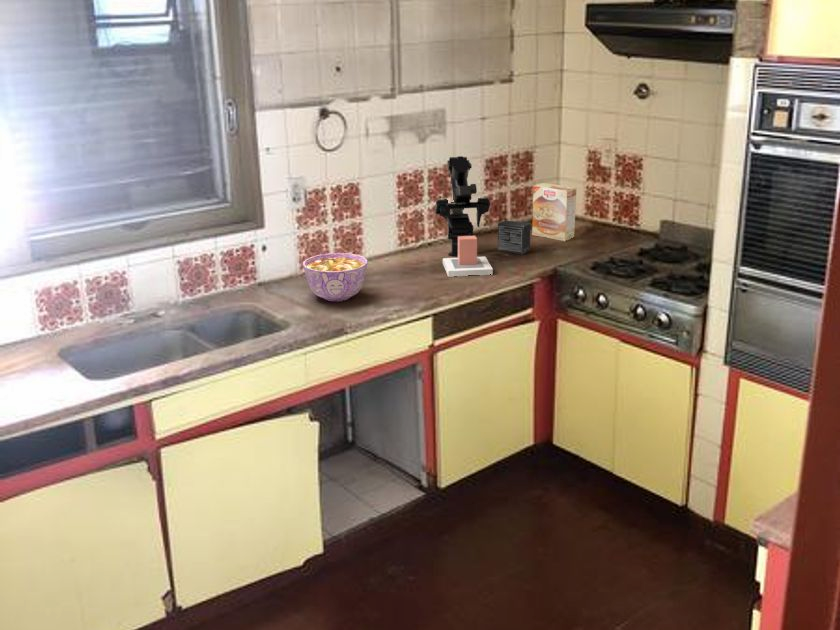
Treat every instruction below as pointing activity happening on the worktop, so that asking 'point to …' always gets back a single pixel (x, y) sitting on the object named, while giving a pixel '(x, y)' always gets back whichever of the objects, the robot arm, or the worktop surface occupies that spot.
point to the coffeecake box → (554, 211)
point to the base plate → (467, 267)
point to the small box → (514, 237)
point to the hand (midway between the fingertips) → (465, 227)
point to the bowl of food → (335, 275)
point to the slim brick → (467, 250)
